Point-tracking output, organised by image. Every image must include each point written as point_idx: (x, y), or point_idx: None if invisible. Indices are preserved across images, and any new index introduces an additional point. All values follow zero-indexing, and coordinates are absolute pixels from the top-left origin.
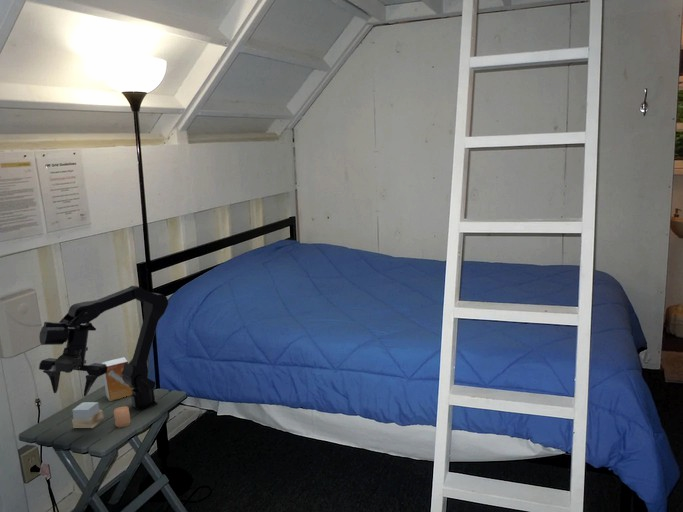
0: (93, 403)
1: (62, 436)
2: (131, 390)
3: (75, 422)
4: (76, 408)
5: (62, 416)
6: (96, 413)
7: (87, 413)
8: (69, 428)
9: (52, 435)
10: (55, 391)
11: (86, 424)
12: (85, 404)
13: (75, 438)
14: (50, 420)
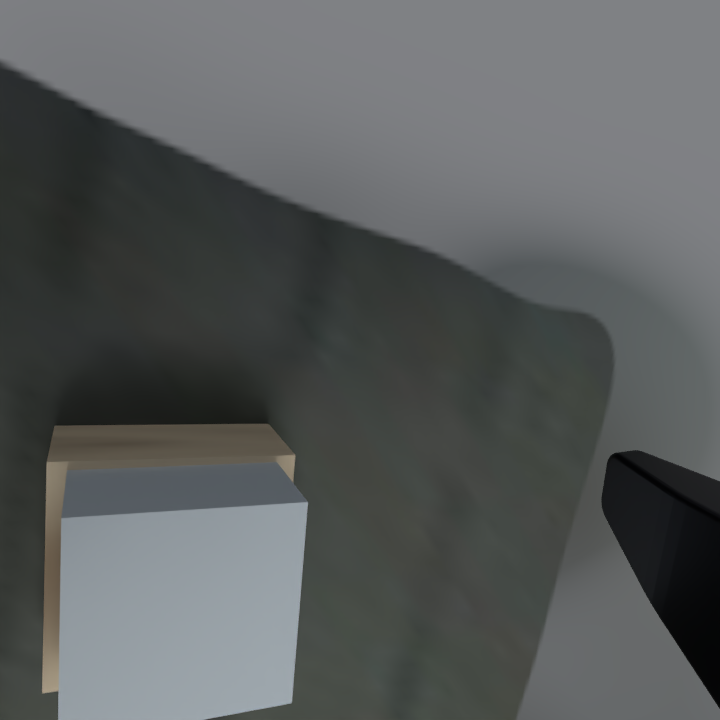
0: (109, 702)
1: (287, 272)
2: None
3: (250, 442)
4: (274, 545)
5: (491, 614)
6: None
7: (83, 497)
8: (310, 424)
9: (394, 297)
10: (628, 478)
11: (116, 439)
12: (217, 660)
13: (112, 217)
14: (547, 545)
